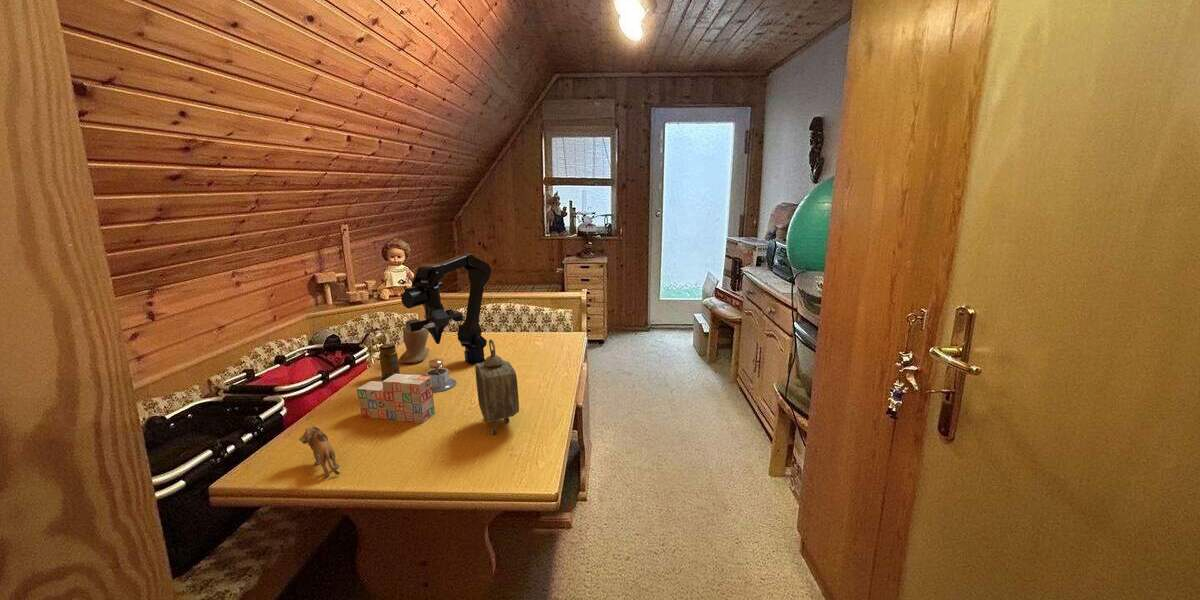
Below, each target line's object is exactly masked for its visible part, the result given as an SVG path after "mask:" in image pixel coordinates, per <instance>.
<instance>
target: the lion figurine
mask: <svg viewBox="0 0 1200 600" xmlns="http://www.w3.org/2000/svg"><path fill="white" fill-rule="evenodd" d="M298 441H300V442H301V443H302V444H303V445H306V444H307V445H308V446H309V447H310V449H311V450H312V453H313V457H314V459H315V461H314V463H313V465H314V466H318V465H320V466H321V468H322V469H323V472H324V473H323V478H328V477H329V476H330V473H329V469H328V467H327V464H328V466H329V468H330V470H331V471H332V472H334V474H335V475H338V476H339V475H340V474H341V473H340V472H339V471H338V470H337V469H338V468H339V467H340V465H339V464H337V461H336V454H335V450H334V448H333V446H332V444H331V443H330V442H329V438H328V435H327V434H326V433H324V431H323V430H322V429H320V428H319V427H317V426H313V425H312V426H308V427H306V428H305V432H304V433H303V435H302V436H301V437H299V438H298ZM326 461H327V464H326ZM317 464H318V465H317Z"/></svg>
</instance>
